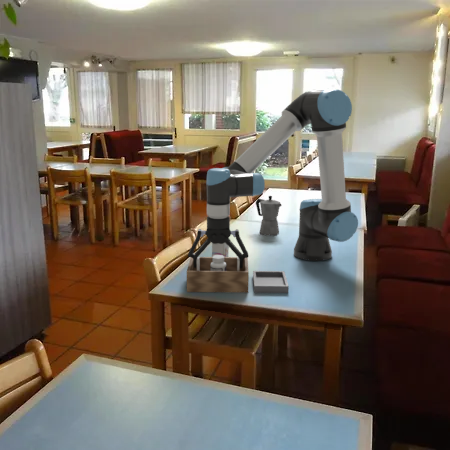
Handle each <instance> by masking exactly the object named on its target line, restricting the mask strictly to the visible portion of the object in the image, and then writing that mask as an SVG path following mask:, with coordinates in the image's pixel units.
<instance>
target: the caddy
mask: <svg viewBox="0 0 450 450" xmlns="http://www.w3.org/2000/svg"><path fill="white" fill-rule="evenodd" d="M199 257H200V271H197V268H194V266H193V258H191V257H190V259H189V261H188V262H189V263H188V265H187V269H186V293H247V294H248V293H249V274H250V273H249V260H248V258H249V257H248V258H244V259H243V268H239V271H237V257H238V256H236V257H235V256H231V257H229V256H228V257H224V262H225V263H226V271H211V267H210V266H211V263H212V262H213V261H212V256H199Z"/></svg>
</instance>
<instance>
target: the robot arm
mask: <svg viewBox="0 0 450 450" xmlns="http://www.w3.org/2000/svg"><path fill="white" fill-rule="evenodd" d="M352 111H353V105H352V101H351V98H350V96H349V95H348V94H347V93H345V92H344V90H341V89H336V88H335V89H334V88H324V89H309V90H307V91H305V92H303V93H302V94H300V95H299V96H298V97H296V98H295V99H293V101H292V102H291V103H289V105H287V106H286V107H285V108H284V109H283V110H282V111H281V116H280V117H278V118H277V120H276V121H275V122H273V124H271V126H270V127H268V128H267V129H266V130H265V132H263V133H262V134H261V135H260V136H259V137H258V138H257V139H256V140H255V141H254V142H253V143H252V144H251V145H250V146H248V148H247V149H246V150H245V151H244V152H243V153H241V154H240V155H239V156H238V158H236V159H235V160H234V161H233V162H232V163H231V164H230V165H229V166H225V167H222V168H219V167H213V168H209V169H208V171H207V172H206V173H207V174H206V183H205V184H206V216H207V217H206V230H202V229H201V228H199V229H198V230H197V233H196V237H195V240H194V241H193V243H192V245H191V247H190V249H189V252H188V253H187V256H188V258H190V259H191V258H193V266H194V268H197V271H200V257H201V256H200V255H202V253H203V252H204V251H205V250H206V248H207V247H208V246H209V245H210V244H212V243H213V244H217V243H219V244H223V243H226V244H227V245H228V246H229V248H230V249H231V251H232V252H233V253H234V254H235V255H236V257H237V271H239V268H243V259H244V258H249V252H248V251H247V248H246V247H245V244H244V242H243V240H242V239H241V237H240V230H239V229H235V230H231V229H230V227H231V226H230V223H231V222H230V221H231V218H230V215H231V214H230V212H231V211H230V210H231V209H230V207H231V205H230V204H231V203H230V202H231V198H240V197H241V198H242V197H255V196H260V195H262V194H263V193H264V191H265V186H266V185H265V183H266V182H265V179H264V176H263V175H262V174H261V173H259V172H255V171H256V170H257V169H259V167H260V166H261V165H263V163H264V162H265V161H266V160H267V159H269V157H271V156H272V155H273V154H274V152H276V151H277V150H278V149H280V147H282V145H283V144H284V143H285V142H286V141H287V140H288V139H289V138H290V137H291V136H293V135H294V134H295V132H301V131H302V130H303V128H306V127H307V126H308V125H310V124H311V132H312V134H314V135H316V140H317V141H316V143H317V144H316V145H317V153H318V154H317V155H318V165H319V166H318V168H319V169H318V170H319V180H320V193H321V196H320V197H321V198H312V199H304V200H302V201H301V202H300V206H299V223H298V224H299V226H298V227H299V228H298V237H297V240H296V242H295V246H294V247H293V256H294V257H296V258H297V259H300V260H304V261H310V262H311V261H312V262H320V261H322V262H323V261H327V260H330V259H331V258H332V254H333V251H332V246H331V243H330V240H331V241H335V242H339V243H343V242H346V241H349V240H350V239H352V237H353V236H354V234H356V233H357V231H358V227H359V220H358V219H359V218H358V216H357V215H356V214H355V213H354V212H352V206H351V205H352V204H351V202H350V201H349V200H348V199H347V194H346V177H345V162H344V161H345V160H344V147H343V146H344V145H343V143H344V142H343V132H344V131H345V130H346V128H347V122H348V121H349V120H350V117H351V115H352ZM204 235H205V236H206V237H207V238H206V240H205V241H204V242H203V244H202V245H200V246H199V248H198V249H197V250H196V247H197V246H198V244H199V242H200V240H201V238H203V237H204ZM231 236H233V237H234V238H235V240H236V242H237V244H238V246H239V248H240V250H241V251H240V250H239V248H238V247H236V245H235V244H234V243H233V242H232V241H231V239H230V238H229V237H231ZM195 250H196V252H195Z"/></svg>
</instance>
